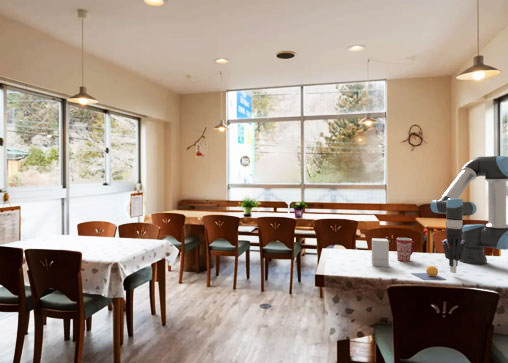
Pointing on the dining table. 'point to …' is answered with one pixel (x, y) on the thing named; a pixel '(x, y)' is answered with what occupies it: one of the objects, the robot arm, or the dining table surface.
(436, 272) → the ball
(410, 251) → the mug
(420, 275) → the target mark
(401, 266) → the dining table surface
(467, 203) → the robot arm
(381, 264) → the supplement box
